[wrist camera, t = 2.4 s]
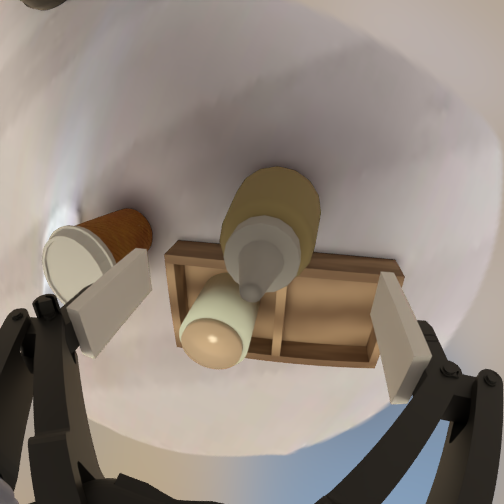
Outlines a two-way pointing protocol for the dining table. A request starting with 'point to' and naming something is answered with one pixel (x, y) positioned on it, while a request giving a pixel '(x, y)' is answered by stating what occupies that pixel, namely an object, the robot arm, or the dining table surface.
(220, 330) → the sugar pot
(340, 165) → the dining table surface
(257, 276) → the squeeze bottle
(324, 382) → the dining table surface
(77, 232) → the disposable coffee cup
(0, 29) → the dining table surface
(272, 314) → the caddy
